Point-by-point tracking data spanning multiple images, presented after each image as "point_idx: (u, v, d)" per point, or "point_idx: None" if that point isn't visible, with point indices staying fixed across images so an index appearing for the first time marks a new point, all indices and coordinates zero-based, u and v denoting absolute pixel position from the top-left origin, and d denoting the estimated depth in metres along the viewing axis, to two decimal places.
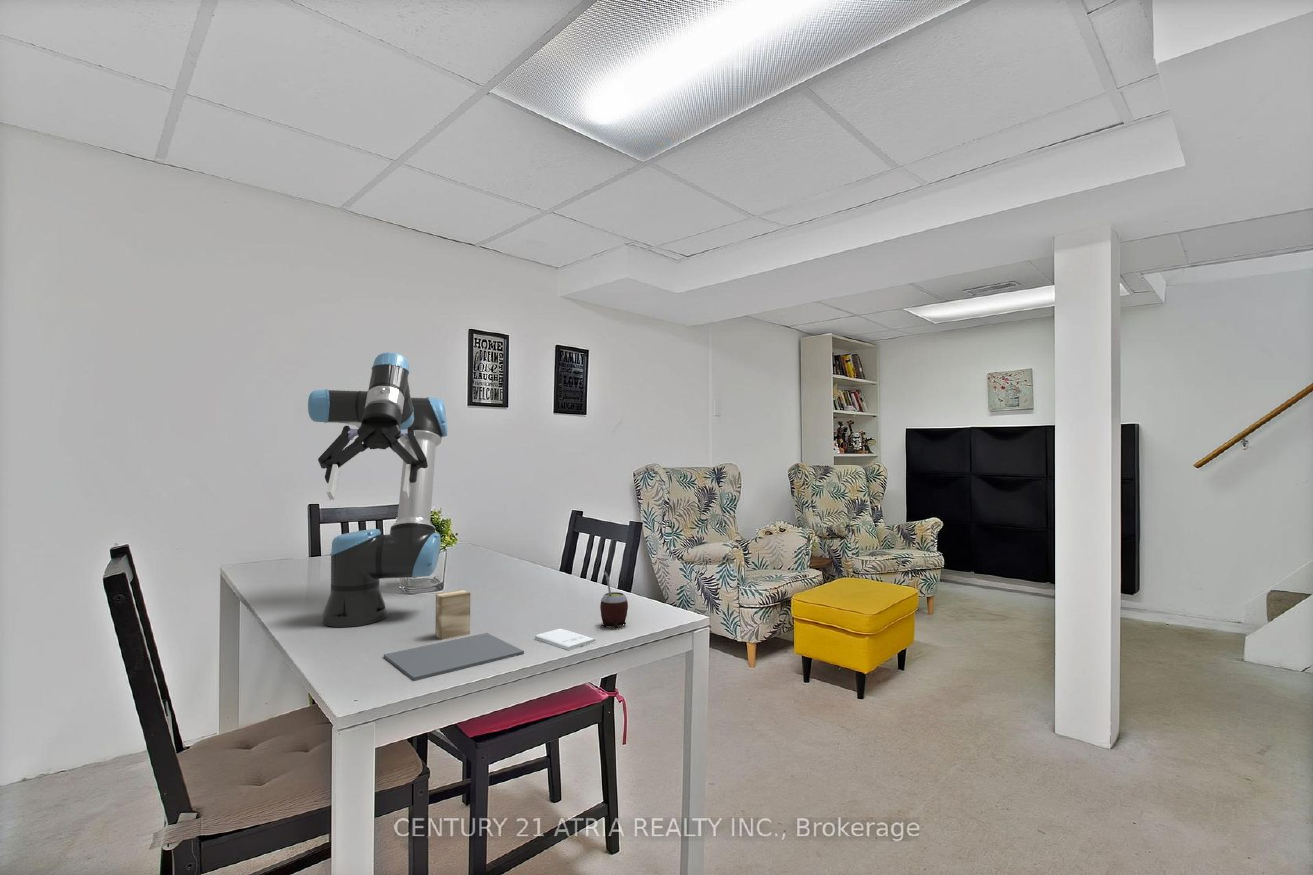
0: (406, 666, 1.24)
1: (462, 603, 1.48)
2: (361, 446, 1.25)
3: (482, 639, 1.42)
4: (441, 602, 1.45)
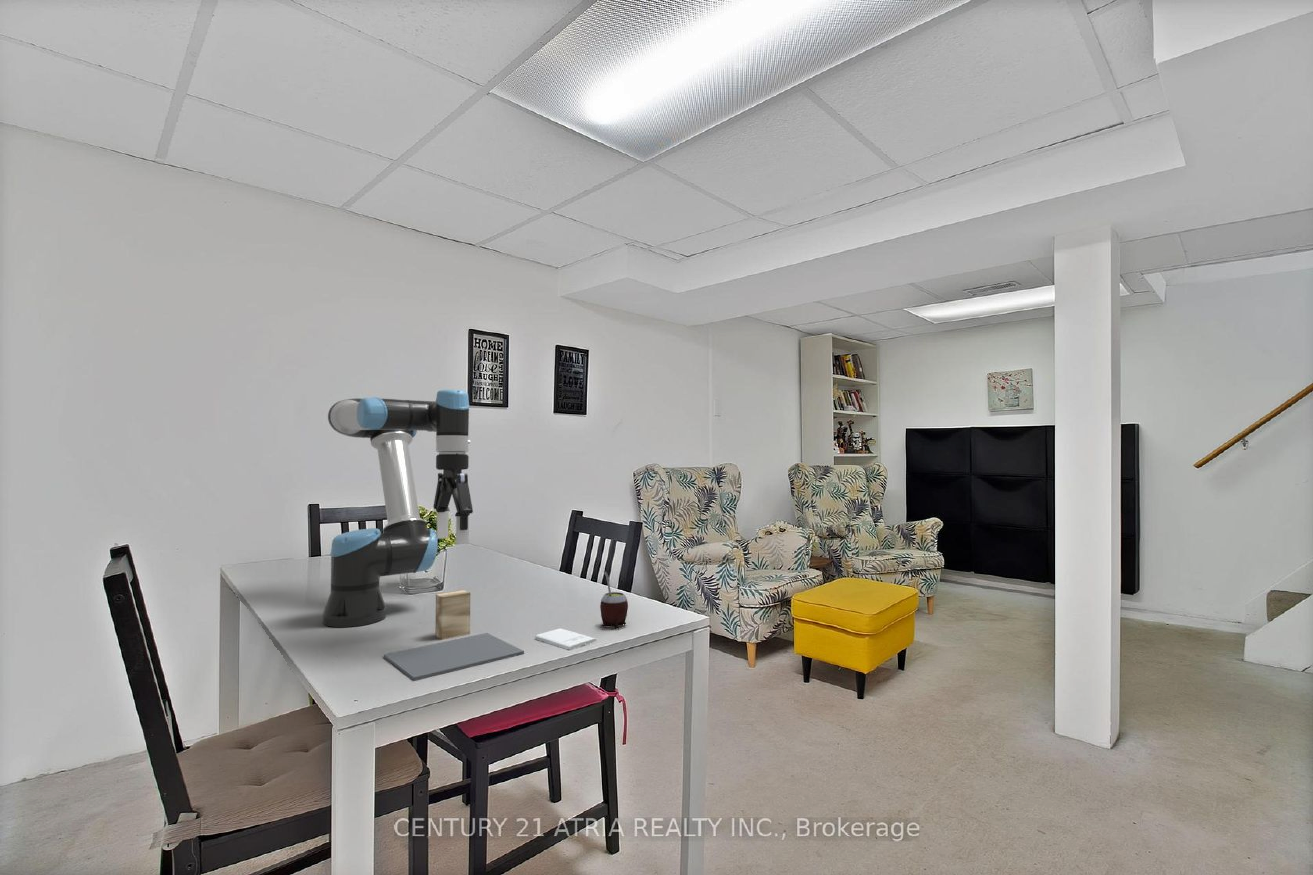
0: (406, 666, 1.24)
1: (462, 603, 1.48)
2: None
3: (482, 639, 1.42)
4: (441, 602, 1.45)
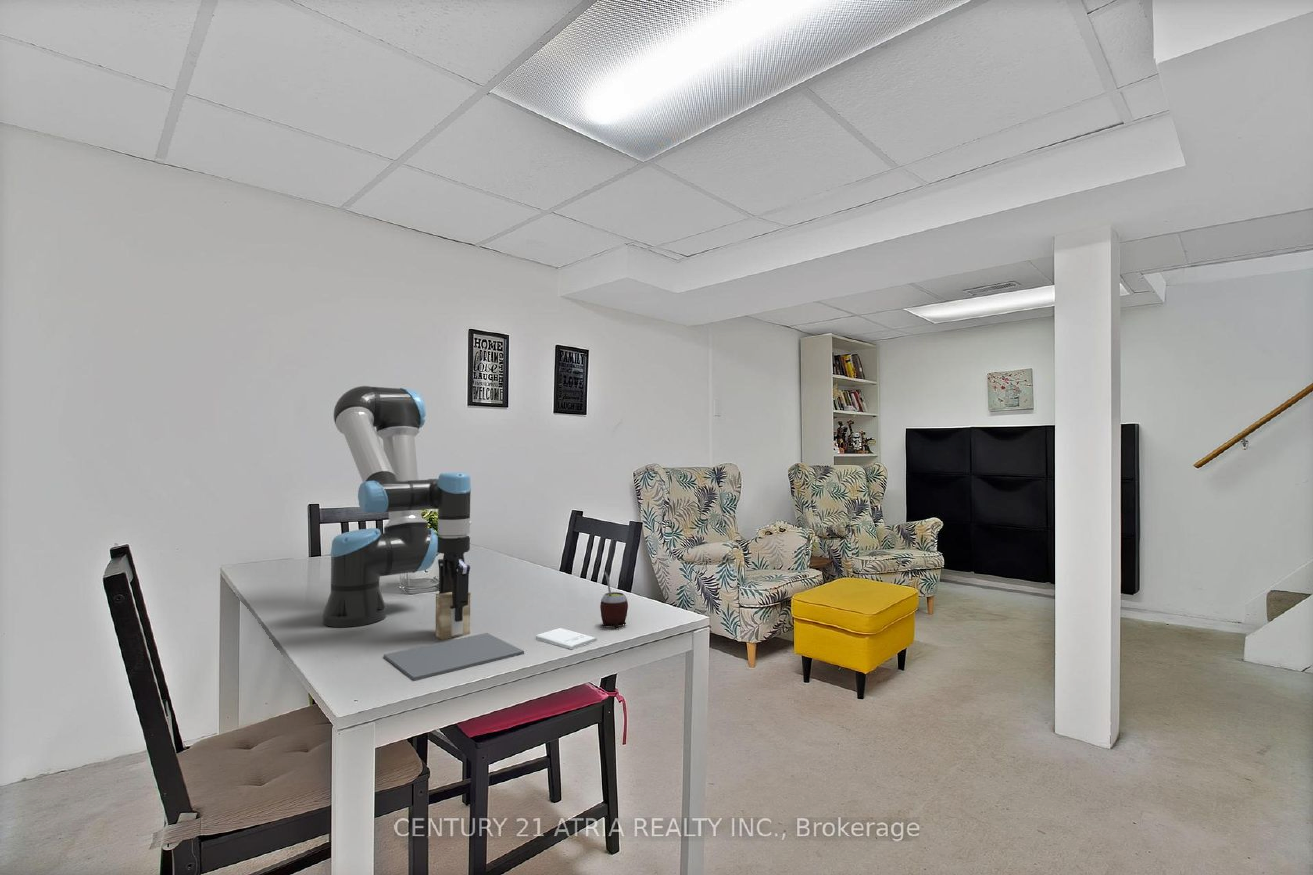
0: (406, 666, 1.24)
1: None
2: None
3: (482, 639, 1.42)
4: (441, 602, 1.45)
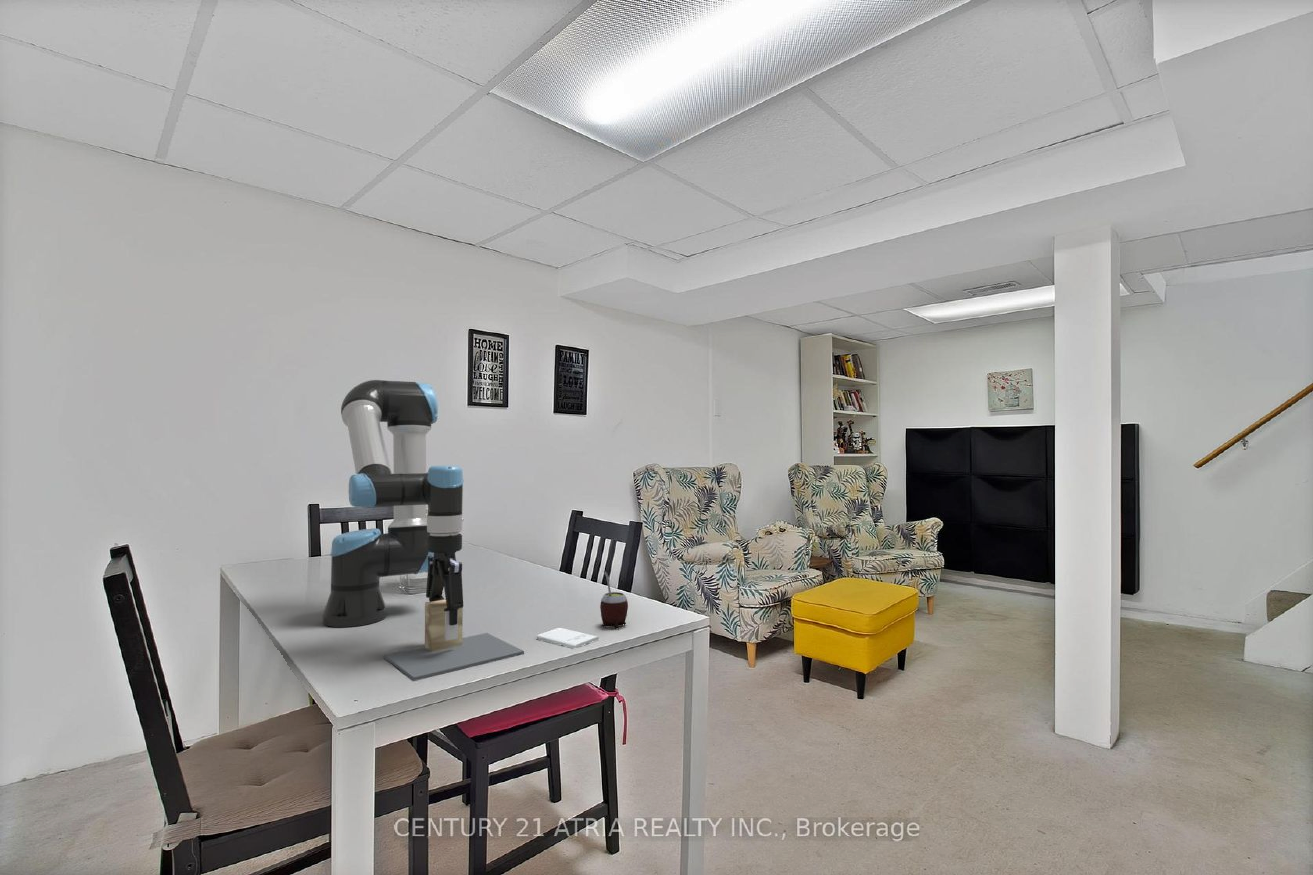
0: (406, 666, 1.24)
1: None
2: None
3: (482, 639, 1.42)
4: (431, 611, 1.34)
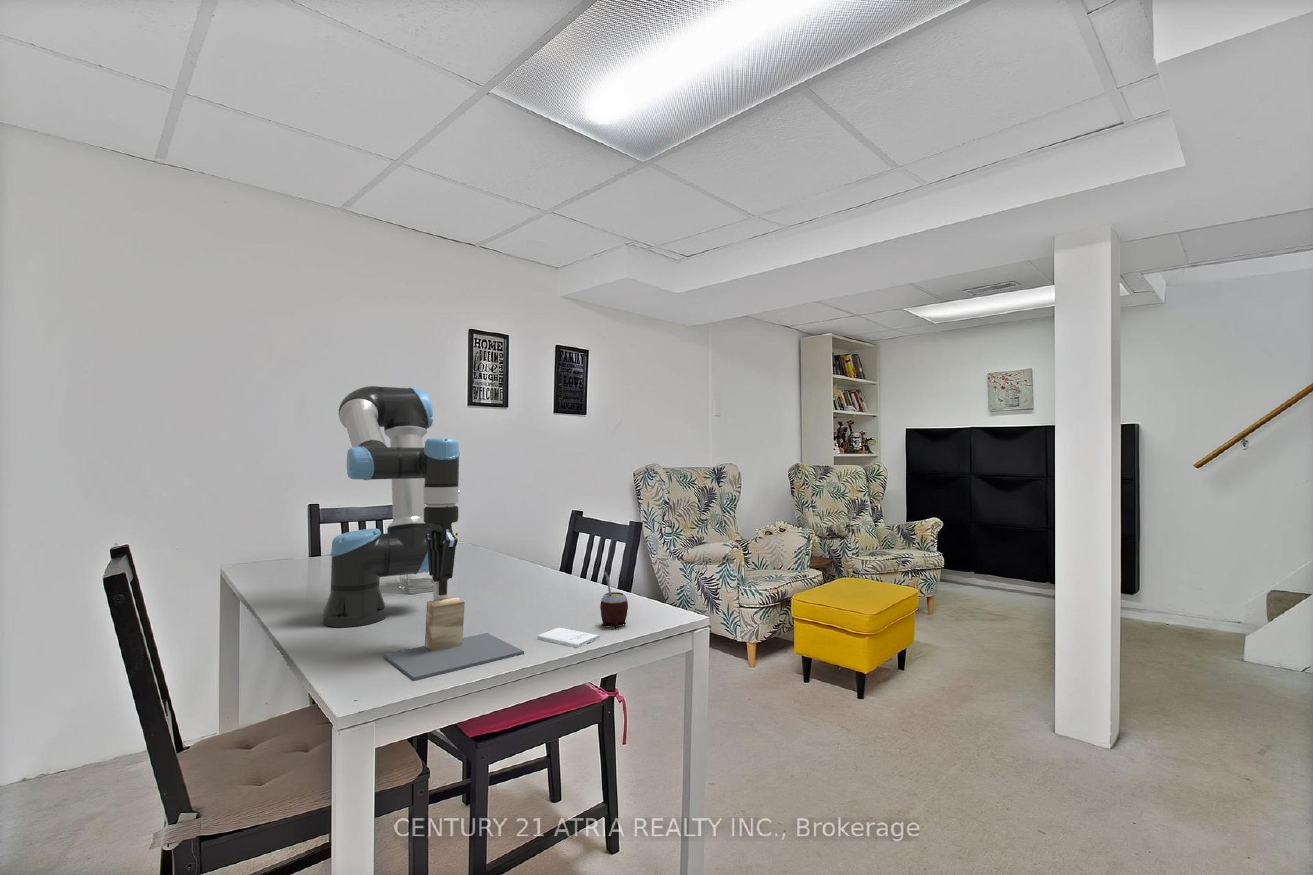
0: (406, 666, 1.24)
1: (455, 613, 1.36)
2: None
3: (482, 639, 1.42)
4: (432, 612, 1.33)
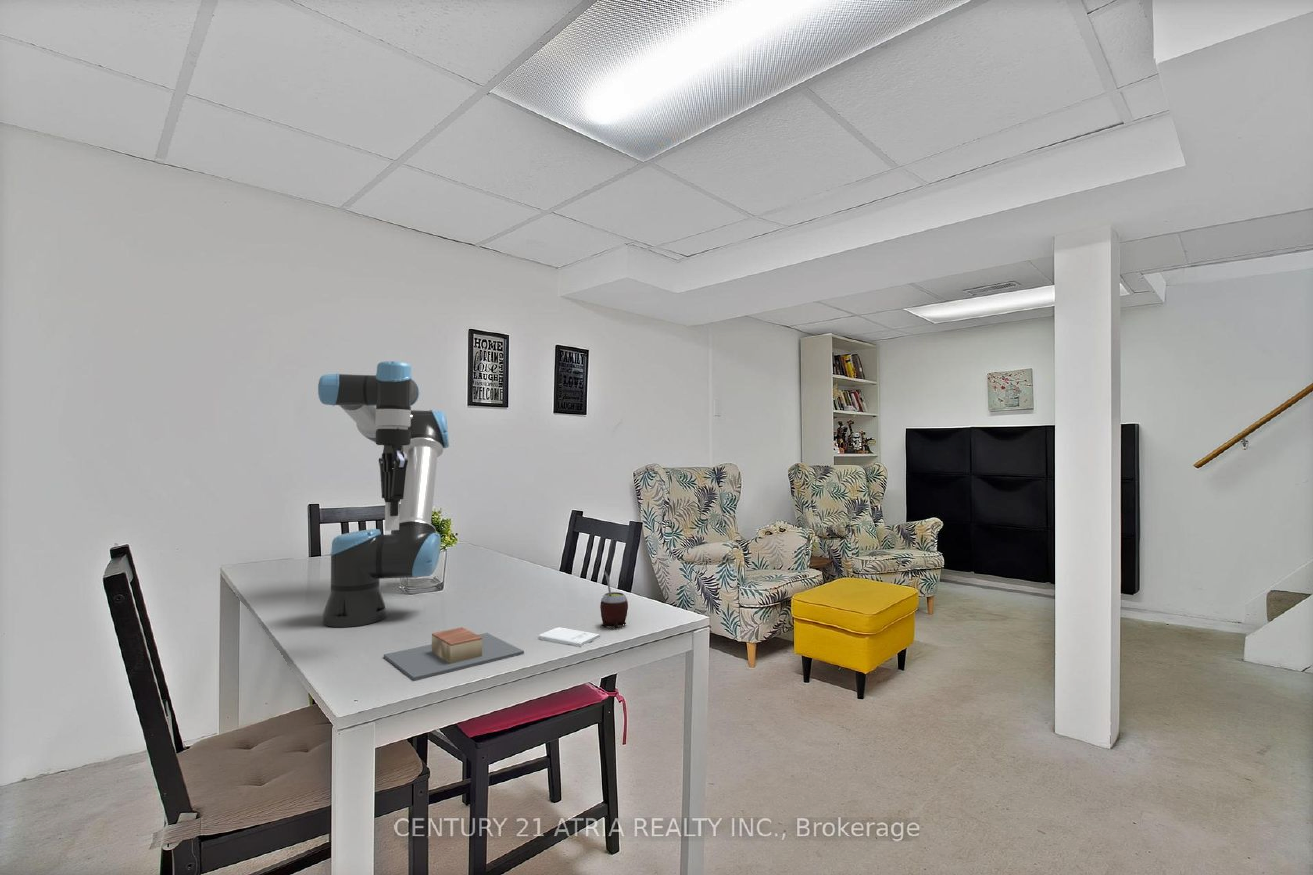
0: (406, 666, 1.24)
1: None
2: None
3: (482, 639, 1.42)
4: (447, 659, 1.27)
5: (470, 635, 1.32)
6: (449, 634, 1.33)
